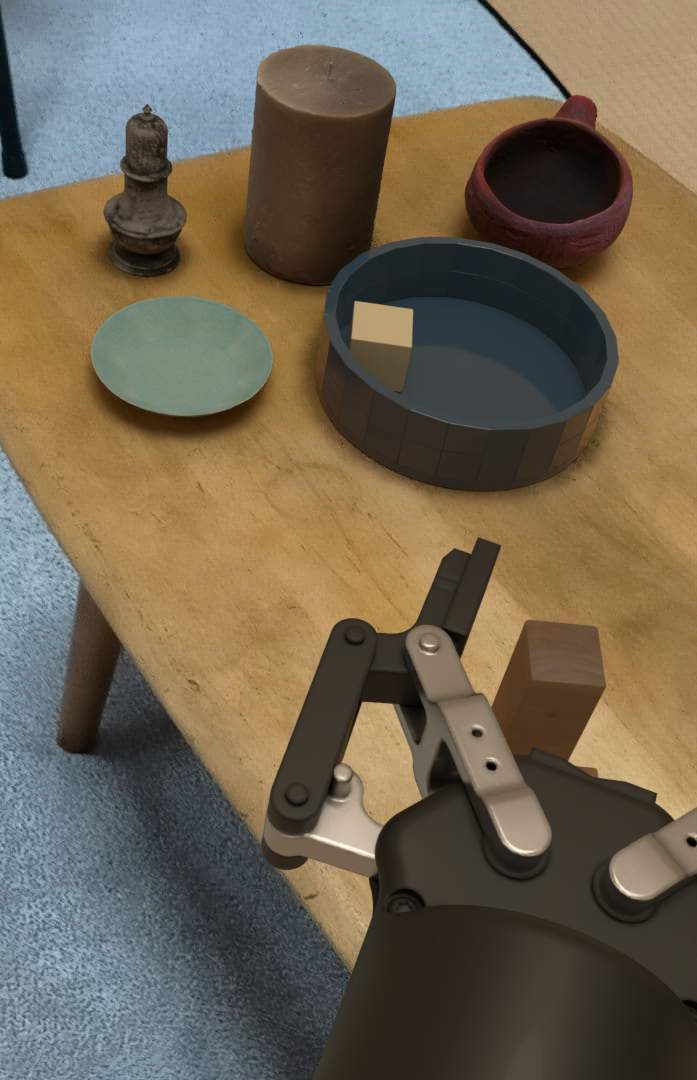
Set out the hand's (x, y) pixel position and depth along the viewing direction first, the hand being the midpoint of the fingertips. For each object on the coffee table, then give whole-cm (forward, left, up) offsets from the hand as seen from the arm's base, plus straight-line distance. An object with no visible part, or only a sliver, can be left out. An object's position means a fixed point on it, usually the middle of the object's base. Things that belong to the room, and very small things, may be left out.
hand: (628, 611), depth 34 cm
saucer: (+28, -34, -30) cm, 53 cm away
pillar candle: (+26, -52, -30) cm, 66 cm away
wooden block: (-2, -11, -30) cm, 32 cm away
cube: (+17, -40, -29) cm, 52 cm away
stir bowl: (+11, -42, -30) cm, 53 cm away
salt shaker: (+36, -45, -30) cm, 65 cm away
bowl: (+11, -63, -30) cm, 71 cm away
